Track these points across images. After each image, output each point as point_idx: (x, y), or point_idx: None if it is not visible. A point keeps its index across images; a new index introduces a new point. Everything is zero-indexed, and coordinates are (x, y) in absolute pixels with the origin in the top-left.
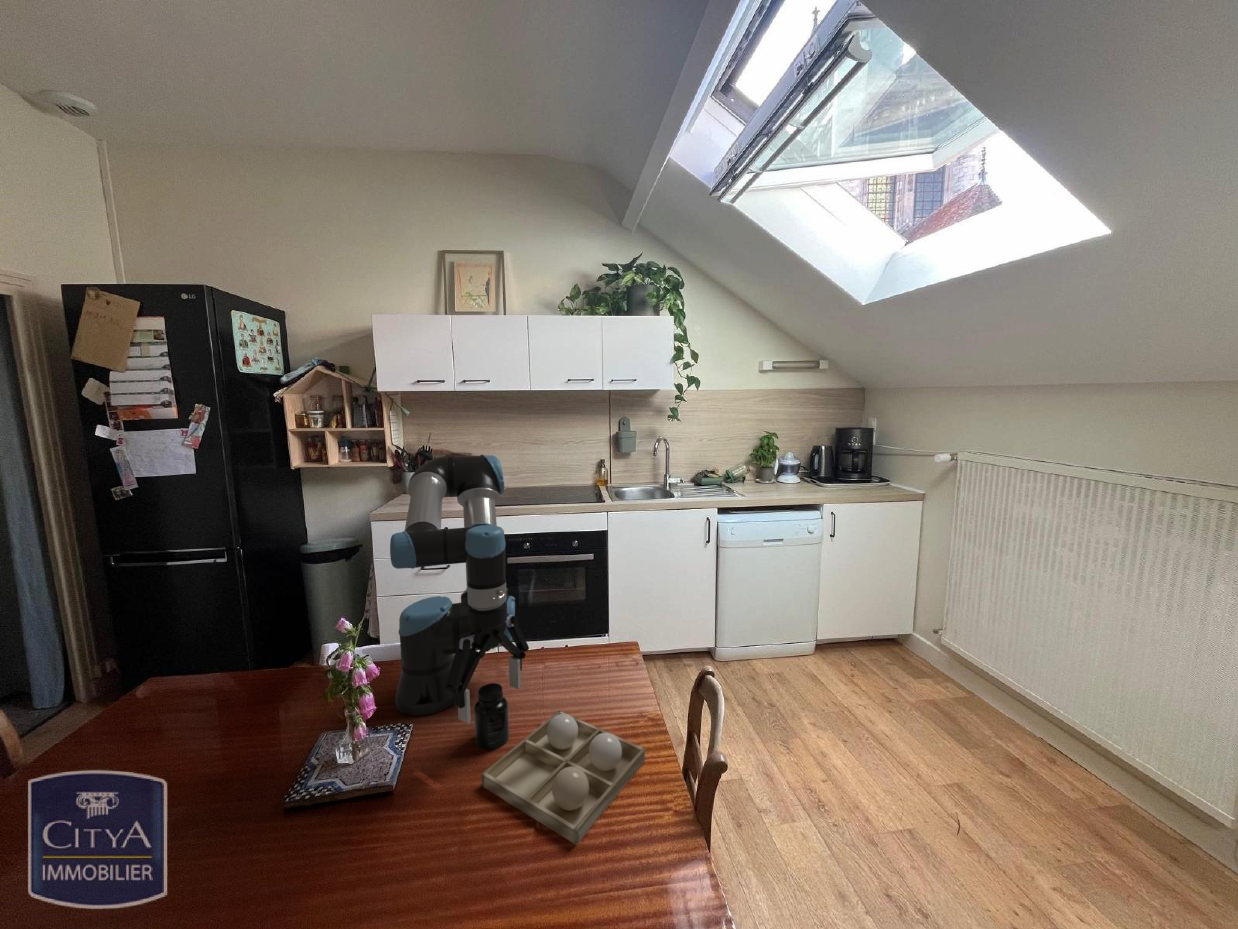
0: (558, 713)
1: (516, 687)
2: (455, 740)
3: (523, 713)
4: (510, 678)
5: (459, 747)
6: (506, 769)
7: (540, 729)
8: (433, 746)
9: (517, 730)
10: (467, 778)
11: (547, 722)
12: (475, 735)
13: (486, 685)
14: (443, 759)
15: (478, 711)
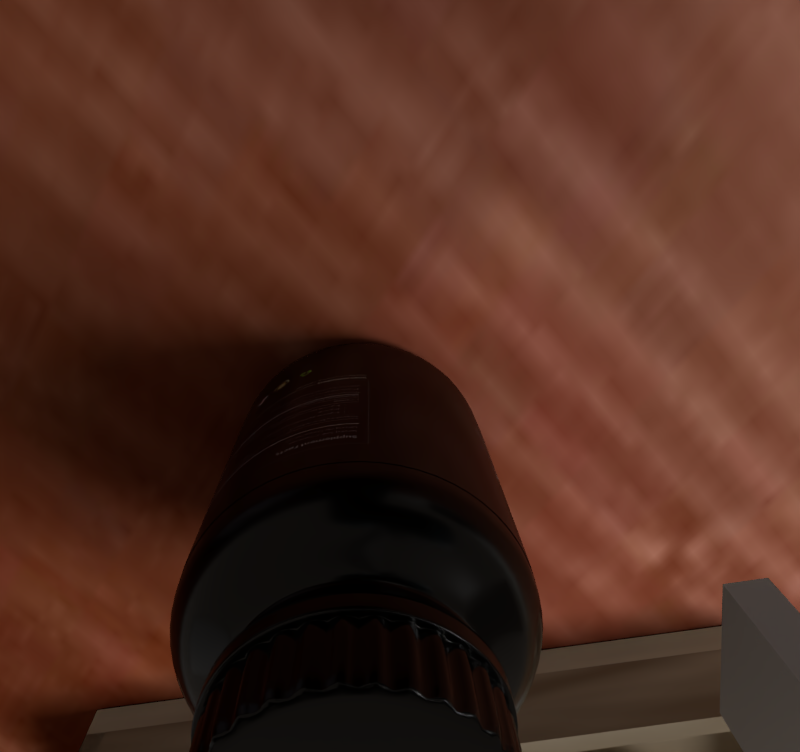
0: None
1: (728, 697)
2: (176, 214)
3: (728, 348)
4: (780, 685)
5: (162, 310)
6: None
7: (585, 743)
8: (5, 138)
9: (559, 466)
10: (74, 585)
11: (666, 736)
12: (238, 436)
13: (378, 718)
14: (16, 333)
15: (178, 674)
